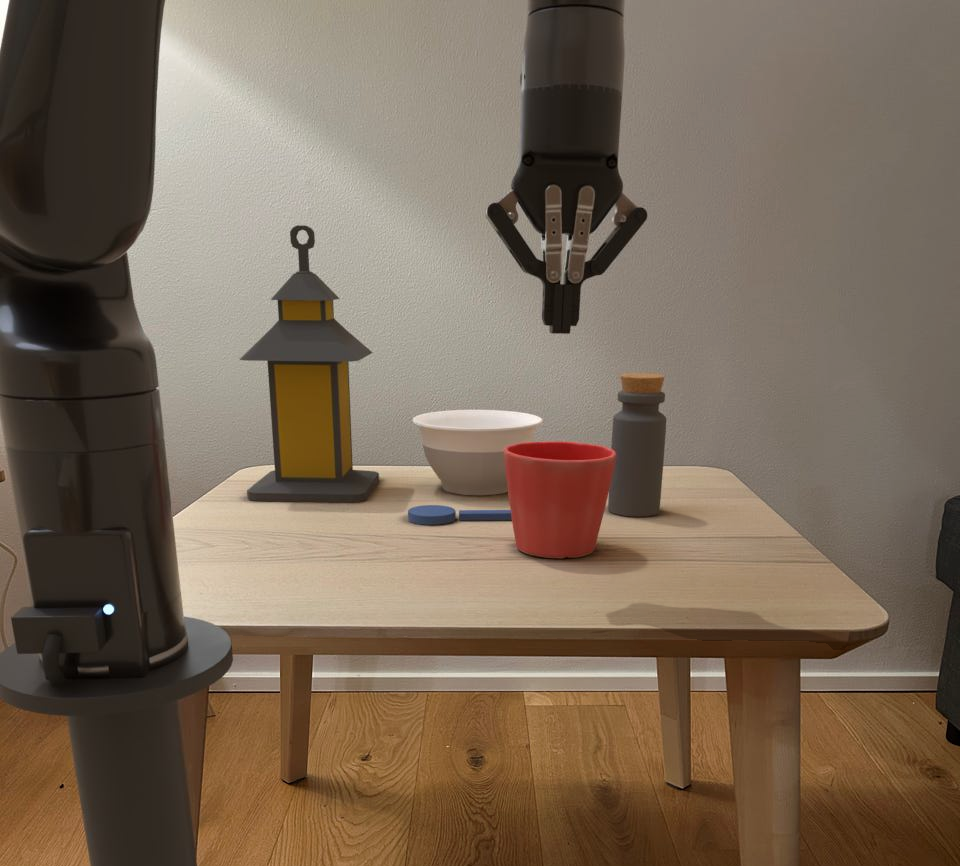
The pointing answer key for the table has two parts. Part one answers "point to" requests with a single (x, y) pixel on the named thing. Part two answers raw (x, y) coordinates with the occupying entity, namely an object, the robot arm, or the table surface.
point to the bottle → (638, 447)
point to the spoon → (452, 515)
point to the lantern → (310, 394)
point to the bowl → (473, 446)
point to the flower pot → (557, 495)
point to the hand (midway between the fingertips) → (559, 332)
